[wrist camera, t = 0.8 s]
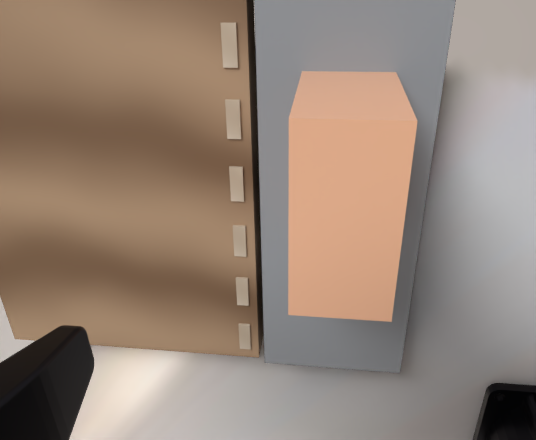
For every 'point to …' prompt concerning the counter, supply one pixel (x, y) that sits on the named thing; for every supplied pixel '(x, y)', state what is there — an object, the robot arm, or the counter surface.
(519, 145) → the counter surface
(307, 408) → the counter surface
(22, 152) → the board
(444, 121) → the counter surface
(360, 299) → the gray rectangular panel
